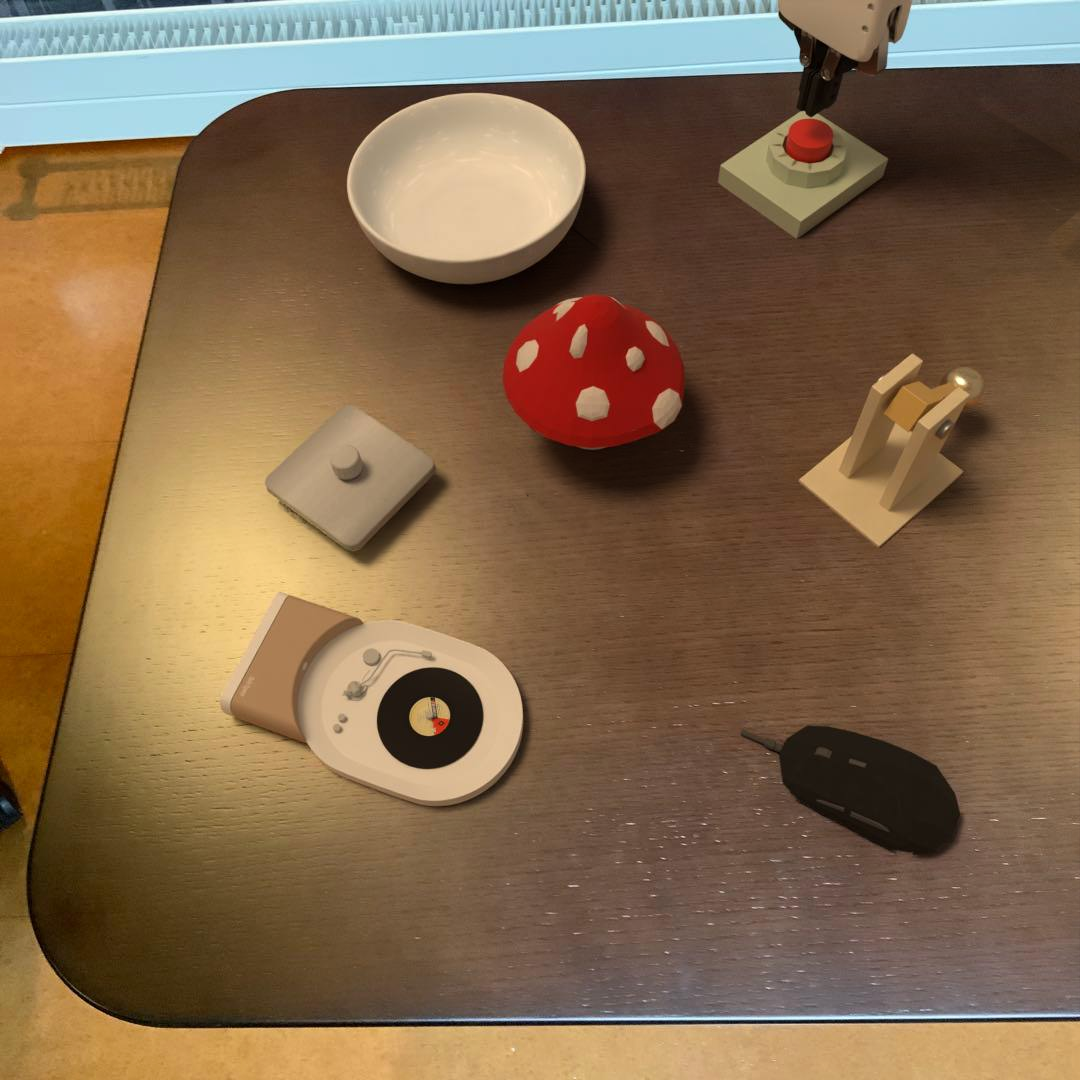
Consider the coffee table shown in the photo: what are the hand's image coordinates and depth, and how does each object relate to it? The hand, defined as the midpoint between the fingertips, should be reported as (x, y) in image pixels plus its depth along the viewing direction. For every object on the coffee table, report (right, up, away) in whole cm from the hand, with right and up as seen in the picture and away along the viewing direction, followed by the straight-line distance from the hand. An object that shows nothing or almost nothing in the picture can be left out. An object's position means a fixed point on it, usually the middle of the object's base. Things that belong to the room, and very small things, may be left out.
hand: (814, 105), depth 92 cm
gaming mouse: (-4, -54, -21) cm, 59 cm away
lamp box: (0, -4, +7) cm, 8 cm away
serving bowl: (-30, -10, +5) cm, 32 cm away
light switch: (-39, -34, -9) cm, 53 cm away
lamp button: (0, -2, +4) cm, 5 cm away
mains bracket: (+2, -34, -10) cm, 35 cm away
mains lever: (+5, -29, -14) cm, 32 cm away
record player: (-35, -50, -18) cm, 64 cm away
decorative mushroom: (-20, -29, -6) cm, 36 cm away
